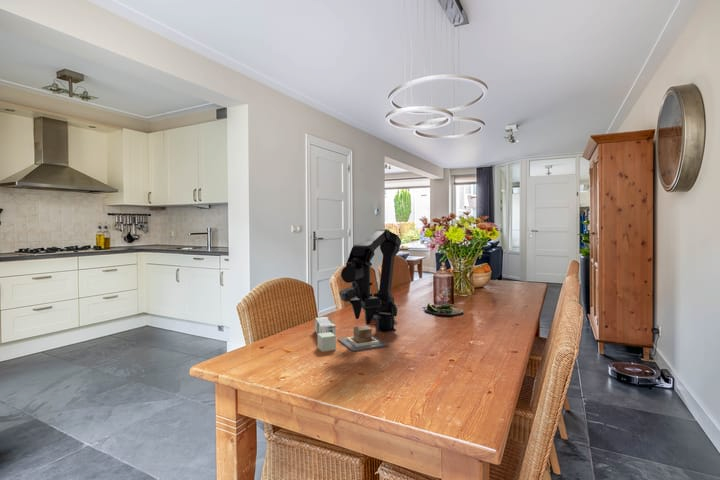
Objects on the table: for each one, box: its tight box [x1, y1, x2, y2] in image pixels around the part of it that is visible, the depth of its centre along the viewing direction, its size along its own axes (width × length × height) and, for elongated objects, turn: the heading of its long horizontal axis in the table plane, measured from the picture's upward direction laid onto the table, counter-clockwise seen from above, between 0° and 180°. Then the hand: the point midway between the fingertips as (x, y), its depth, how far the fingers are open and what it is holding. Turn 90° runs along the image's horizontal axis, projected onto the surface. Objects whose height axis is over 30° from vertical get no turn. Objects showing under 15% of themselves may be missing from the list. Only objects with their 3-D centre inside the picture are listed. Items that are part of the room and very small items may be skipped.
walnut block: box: [353, 325, 373, 343], centre depth 138 cm, size 5×5×5 cm
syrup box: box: [314, 316, 337, 336], centre depth 147 cm, size 6×6×14 cm
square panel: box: [337, 334, 390, 353], centre depth 138 cm, size 14×14×1 cm
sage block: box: [316, 332, 337, 352], centre depth 132 cm, size 5×5×5 cm
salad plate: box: [422, 302, 464, 318], centre depth 187 cm, size 19×18×5 cm
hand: (362, 321), depth 137 cm, fingers open, 9 cm apart
